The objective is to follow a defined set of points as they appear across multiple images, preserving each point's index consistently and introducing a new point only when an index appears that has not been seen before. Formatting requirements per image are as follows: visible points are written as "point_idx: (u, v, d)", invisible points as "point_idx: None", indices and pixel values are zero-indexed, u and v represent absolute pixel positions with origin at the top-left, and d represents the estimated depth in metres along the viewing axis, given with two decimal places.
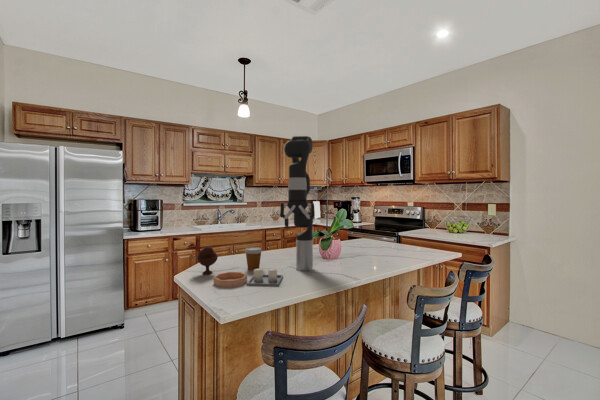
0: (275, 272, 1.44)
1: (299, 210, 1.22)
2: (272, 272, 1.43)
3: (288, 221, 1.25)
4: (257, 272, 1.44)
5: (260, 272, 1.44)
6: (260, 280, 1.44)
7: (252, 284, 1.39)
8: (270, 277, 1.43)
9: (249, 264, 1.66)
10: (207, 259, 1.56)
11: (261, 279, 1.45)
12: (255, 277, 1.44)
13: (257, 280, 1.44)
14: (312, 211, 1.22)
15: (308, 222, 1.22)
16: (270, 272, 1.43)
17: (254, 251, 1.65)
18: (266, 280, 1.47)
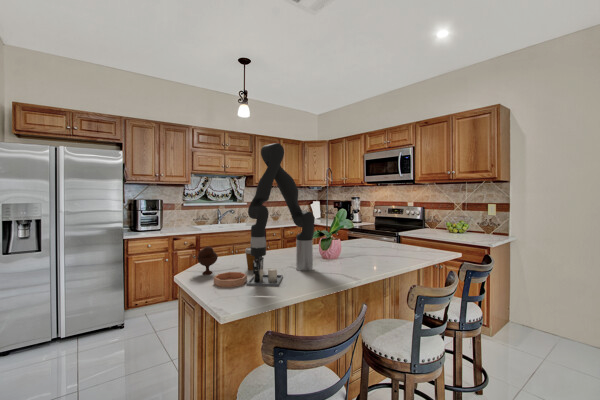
0: (275, 272, 1.44)
1: (260, 263, 1.46)
2: (272, 272, 1.43)
3: None
4: None
5: (260, 272, 1.44)
6: (260, 280, 1.44)
7: (252, 284, 1.39)
8: (270, 277, 1.43)
9: (249, 264, 1.66)
10: (207, 259, 1.56)
11: (261, 279, 1.45)
12: None
13: None
14: None
15: None
16: (270, 272, 1.43)
17: None
18: (266, 280, 1.47)
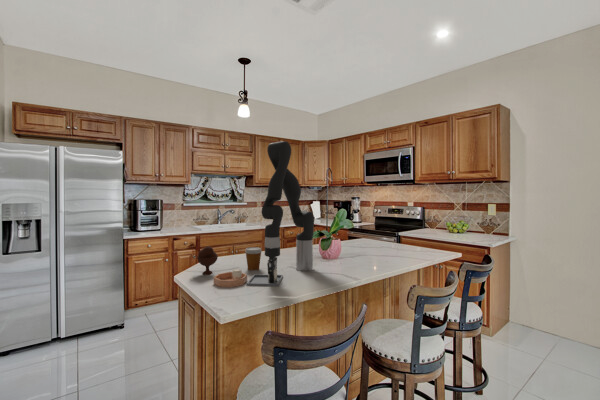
0: (275, 272, 1.44)
1: None
2: None
3: None
4: (235, 273, 1.42)
5: (238, 273, 1.42)
6: None
7: (252, 284, 1.39)
8: None
9: (249, 264, 1.66)
10: (207, 259, 1.56)
11: None
12: (233, 278, 1.42)
13: None
14: None
15: None
16: None
17: (254, 251, 1.65)
18: (266, 280, 1.47)
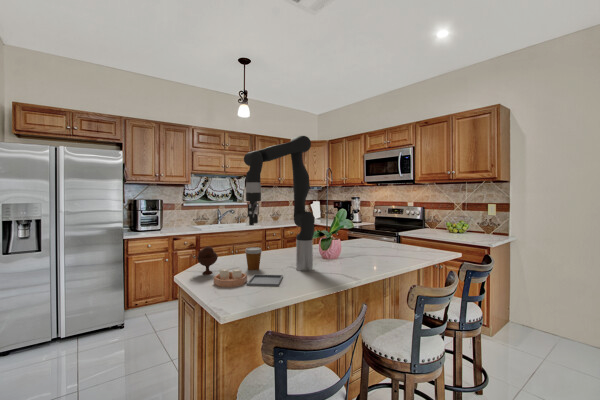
0: (226, 272, 1.43)
1: (256, 209, 1.49)
2: (223, 272, 1.42)
3: None
4: (235, 273, 1.42)
5: (238, 273, 1.42)
6: None
7: (252, 284, 1.39)
8: (221, 277, 1.42)
9: (249, 264, 1.66)
10: (207, 259, 1.56)
11: None
12: (233, 278, 1.42)
13: None
14: (258, 209, 1.54)
15: (257, 218, 1.53)
16: (221, 272, 1.42)
17: (254, 251, 1.65)
18: (266, 280, 1.47)
